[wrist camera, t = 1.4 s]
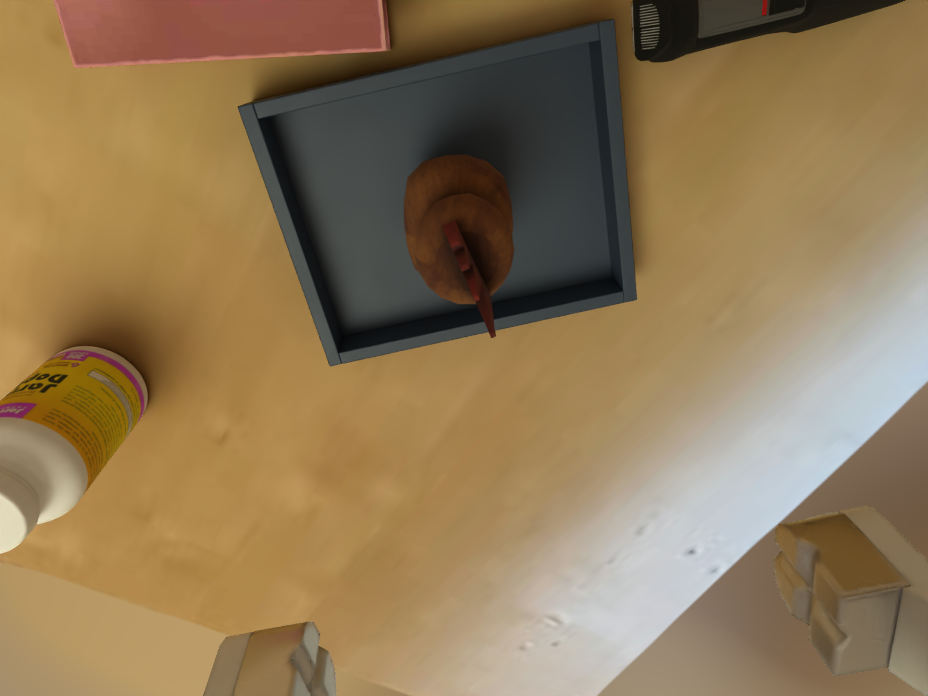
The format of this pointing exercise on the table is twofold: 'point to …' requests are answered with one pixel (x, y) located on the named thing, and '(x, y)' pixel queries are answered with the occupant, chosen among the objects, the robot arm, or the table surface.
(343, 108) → the tray
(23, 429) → the supplement bottle
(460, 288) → the wooden figurine
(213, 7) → the book
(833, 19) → the electric trimmer
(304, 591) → the table surface
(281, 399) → the table surface
